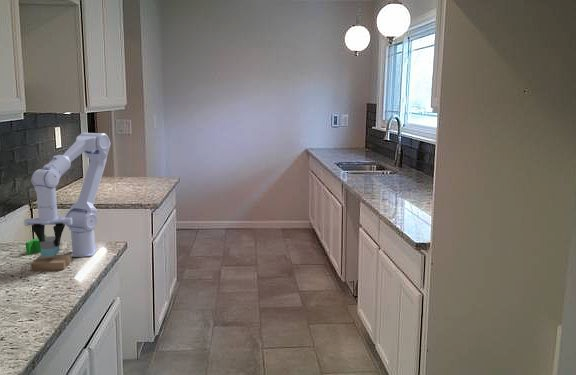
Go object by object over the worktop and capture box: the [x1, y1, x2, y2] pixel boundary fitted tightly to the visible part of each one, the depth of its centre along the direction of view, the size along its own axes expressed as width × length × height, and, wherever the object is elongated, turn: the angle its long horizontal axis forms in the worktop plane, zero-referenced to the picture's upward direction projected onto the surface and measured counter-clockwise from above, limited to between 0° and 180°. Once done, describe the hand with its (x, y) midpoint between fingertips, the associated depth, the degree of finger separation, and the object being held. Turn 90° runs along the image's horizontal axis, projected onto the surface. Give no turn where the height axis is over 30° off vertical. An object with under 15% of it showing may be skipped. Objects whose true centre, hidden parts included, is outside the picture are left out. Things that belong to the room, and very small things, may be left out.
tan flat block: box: [30, 253, 72, 272], centre depth 176 cm, size 9×10×2 cm
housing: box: [40, 235, 61, 257], centre depth 174 cm, size 6×4×5 cm, turn 7°
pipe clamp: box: [25, 234, 47, 256], centre depth 193 cm, size 11×4×5 cm, turn 173°
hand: (50, 245), depth 175 cm, fingers closed on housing, 4 cm apart
